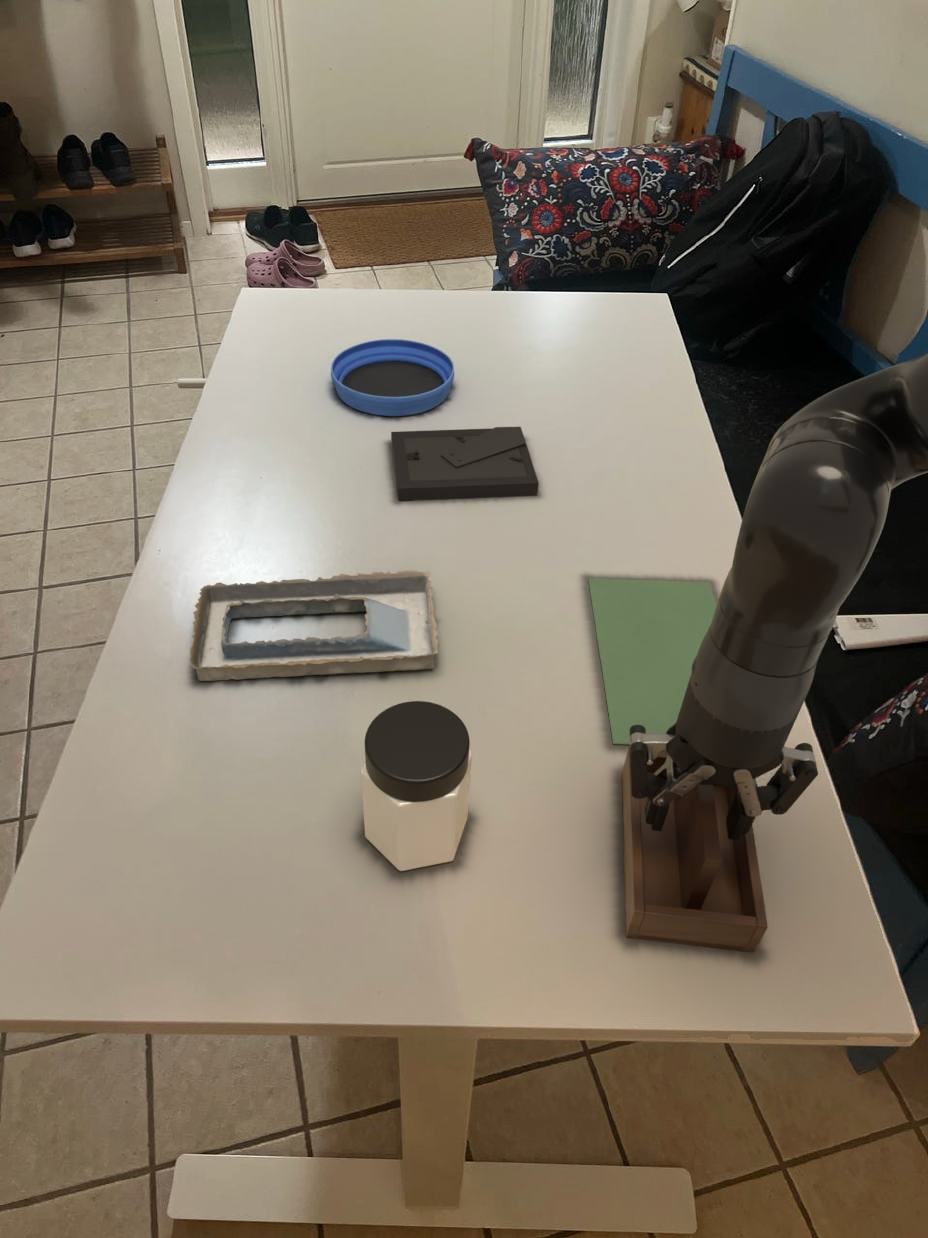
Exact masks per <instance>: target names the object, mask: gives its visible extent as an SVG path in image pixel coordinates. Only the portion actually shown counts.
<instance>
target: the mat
mask: <svg viewBox="0 0 928 1238" xmlns="http://www.w3.org/2000/svg"><path fill="white" fill-rule="evenodd" d="M587 582H588V589H589V594H590V601H591V607H592V612H593V613H592V615H593V621H594V628H595V635H596V640H597V647H598V655H599V661H600V667H601V674H602V680H603V687H604V693H605V694H604V695H605V700H606V707H607V713H608V714H607V715H608V721H609V728H610V734H611V740H612V745H614V746H615V745H616V746H630V731H629V730H630V727H631V726H633V725H642V726H644V727H645V729H646V734H654V733H666V732H667V730H668V729H669V728H670V727H671V726H673V725H674V724H675V723H676V721H677V719H678V715H679V712H680V708H681V705H682V702H683V699H684V695H685V692H686V689H687V686H688V683H689V679H690V676H691V673H692V669H691V668H692V664H693V661H694V658H695V657H696V656H697V653H698V650H699V648H700V645H701V643H702V640H703V638H704V636H705V634H706V633H707V631H708V629H709V627H710V625H711V622H712V619H713V615H714V612H715V609H716V606H717V601H716V598H715V593H714V590H713V587H712V584H711V582H710V581H687V580H684V581H683V580H656V579H654V580H653V579H652V580H651V579H623V578H622V579H621V578H620V579H619V578H591V577H590V578H589V577H588V578H587Z"/></svg>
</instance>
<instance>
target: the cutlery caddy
mask: <svg viewBox="0 0 928 1238" xmlns="http://www.w3.org/2000/svg"><path fill="white" fill-rule="evenodd" d="M668 755H669V754H668V753H667V751H662V752H660V753H659V754H658V756H657V758H656V759H654V760H653V764H652V765H647V772H649V773H652V774H654V773H655V772H656V771H657V770H658V769H659V768H660V767H661V766H663V765H664V764H665V762H666V758H667V756H668ZM737 792H739V791H738V788H737V786H736V787H735V788H726V787H722V786H718V785H699V784H698V785H697V786H696V787H694V788H693V789H692V790H691V791H690V792H688V793H687V794H686V795H685V796H681V795H678V796H677V797H676V798H675V799H673V800H672V801H671V802H670V803H669V810H668V813H667V816H666V819H665V822H664V825H663V828H662V831H653V830H652V824H647V823H646V820H645V803H646V800H647V797H645V798H642V799H637V798H634V797H633V796H632V795H631V768H630V746H629V747H628V748H627V752H626V756H625V760H624V764H623V767H622V772H621V795H622V796H621V799H622V800H621V801H622V803H621V804H622V832H623V833H622V836H623V839H622V841H623V842H622V843H623V875H624V876H623V878H624V916H625V937H626V938H631V939H632V938H633V939H637V940H638V939H639V940H646V941H647V940H649V941H655V942H656V941H657V942H663V943H671V944H672V943H673V944H681V945H689V946H697V947H705V948H713V949H721V950H722V949H723V950H729V951H739V952H747V953H748V952H749V953H755V952H756V950H757V948H758V947H759V944H760V943H761V941H762V939H763V937H764V935H765V933H766V932H767V930H768V927H769V926H768V920H767V919H768V917H767V913H766V905H765V900H764V893H763V886H762V880H761V879H762V878H761V872H760V866H759V861H758V860H759V859H758V853H757V847H756V840H755V833H754V827H753V825H752V826H751V828H750V830H749V832H748V833H747V834H745V835H740V838H739V840H730V839H728V833H727V825H726V818H727V814H728V812H729V810H730V807H731V805H732V802H733V800H734V798H735V795H736V793H737Z"/></svg>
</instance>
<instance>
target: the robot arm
mask: <svg viewBox="0 0 928 1238" xmlns="http://www.w3.org/2000/svg"><path fill="white" fill-rule="evenodd" d="M927 473H928V351H927V352H925V353H924V354H921V355H920V356H917V357H915V358H912V359H908V360H905V361H902V362H899V363H897V364H894V365H893V364H892V365H890V366H887V367H885V368H883V369H881V370H878V371H875V372H874V373H871V374H868V375H866V376H863V377H861V378H858V379H855V380H853V381H851V382H848V383H846V384H844V385H841V386H839V387H837V388H835V389H833V390H830V391H829V392H827V393H825V394H822V395H821V396H819V397H817V398H816V399H814V400H812V401H811V402H809V403H808V404H806V405H805V406H803V407H802V408H800V409H799V410H798V411H797V412H795V413H794V414H793V415H791V416H790V417H789V418H788V419H786V420H785V422H783V424H781V426H780V427H779V428H778V429H777V431H776V432H775V433H774V435H773V437H772V438H771V439H770V442H769V444H768V446H767V449H766V451H765V453H764V457H763V459H762V462H761V464H760V467H759V469H758V472H757V474H756V477H755V479H754V482H753V484H752V487H751V489H750V493H749V495H748V499H747V502H746V505H745V509H744V512H743V516H742V519H741V523H740V527H739V532H738V535H737V540H736V543H735V547H734V552H733V553H734V554H733V559H732V565H731V567H730V569H729V571H728V572H727V573H728V574H727V575H726V578H725V580H724V582H723V585H722V588H721V590H720V593H719V596H718V599H717V602H716V604H717V606H716V609H715V612H714V615H713V619H712V622H711V625H710V627H709V629H708V631H707V633H706V634H705V636H704V638H703V640H702V643H701V645H700V648H699V650H698V653H697V656H696V657H695V658H694V661H693V664H692V668H691V669H692V673H691V676H690V679H689V683H688V686H687V689H686V692H685V695H684V699H683V702H682V705H681V708H680V712H679V715H678V719H677V721H676V723H675V724H674V725H673V726H671V727H670V728H669V729H668V730H667V732H666V733H654V734H646V729H645V727H644V726H642V725H633V726H631V727H630V730H629V731H630V745H629V747H630V768H631V795H632V796H633V797H634V798H637V799H642V798H645V797H647V800H646V803H645V820H646V823H647V824H652V830H653V831H662V828H663V825H664V822H665V819H666V816H667V813H668V810H669V803H670V802H671V801H672V800H673V799H675V798H676V797H677V796H678V795H681V796H685V795H686V794H687V793H688V792H690V791H691V790H692V789H693V788H694V787H696V786H697V785H698V784H699V785H718V786H722V787H726V788H735V787H736V786H737V788H738V791H739V792H737V793H736V795H735V798H734V800H733V802H732V805H731V807H730V810H729V812H728V814H727V818H726V825H727V833H728V839H730V840H739V838H740V835H745V834H747V833H748V832H749V830H750V828H751V826H753V824H754V822H755V819H756V817H759V816H760V815H761V814H762V812H764V811H771V813H772V814H773V815H777V816H778V815H779V816H781V815H784V814H786V813H787V812H788V811H789V810H790V809H791V808H792V807H793V805H794V804H795V802H797V800H799V798H800V797H801V796H802V795H803V794H804V792H805V791H806V790H807V789H808V787H809V786H810V785H811V784H812V783H813V782H814V780H815V779H816V778H817V777H818V775H819V771H818V766H817V761H816V756H815V753H814V749H813V746H812V744H811V743H808V742H801V743H799V744H797V745H796V746H795V747H794V748H793V747H789V746H785V745H786V743H787V740H788V739H789V736H790V734H791V731H792V729H793V727H794V725H795V723H796V721H797V718H798V716H799V714H800V711H801V709H802V706H803V705H804V702H805V700H806V698H807V695H808V694H809V691H810V690H811V686H812V684H813V681H814V679H815V678H814V677H815V673H816V669H817V664H818V661H819V659H820V656H821V654H822V651H823V649H824V647H825V646H826V643H827V640H828V638H829V636H830V633H831V632H832V629H833V628H834V625H835V622H836V620H837V617H838V613H839V611H840V607H841V606H842V605H843V603H844V602H845V600H846V599H847V597H848V596H849V595H850V593H851V592H852V590H853V589H854V587H855V585H856V584H857V582H858V581H859V579H860V578H861V576H862V574H863V573H864V571H865V569H866V567H867V564H868V563H869V561H870V558H871V557H872V555H873V552H874V550H875V549H876V546H877V544H878V541H879V539H880V537H881V534H882V531H883V530H884V526H885V522H886V519H887V514H888V510H889V504H890V498H891V493H892V490H893V489H895V488H896V487H897V486H899V485H901V484H902V483H904V482H906V481H909V480H911V479H914V478H916V477H918V476H921V475H924V474H927ZM662 751H667V753H668V754H669V755H668V756H667V758H666V762H665V764H664V765H663V766H661V767H660V768H659V769H658V770H657V771H656V772H655V773H654V774H652V773H649V772H647V765H652V764H653V760H654V759H656V758H657V756H658V754H659V753H660V752H662ZM777 768H778V769H777ZM774 769H776V771H775V772H774V774H773V775H772V776H771V778H770V779H769V780H768V782H767V783H766V785H760V786H758V782H757V778H759V777H762V776H763V775H765V774H768V773H769V772H771V771H772V770H774Z"/></svg>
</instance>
